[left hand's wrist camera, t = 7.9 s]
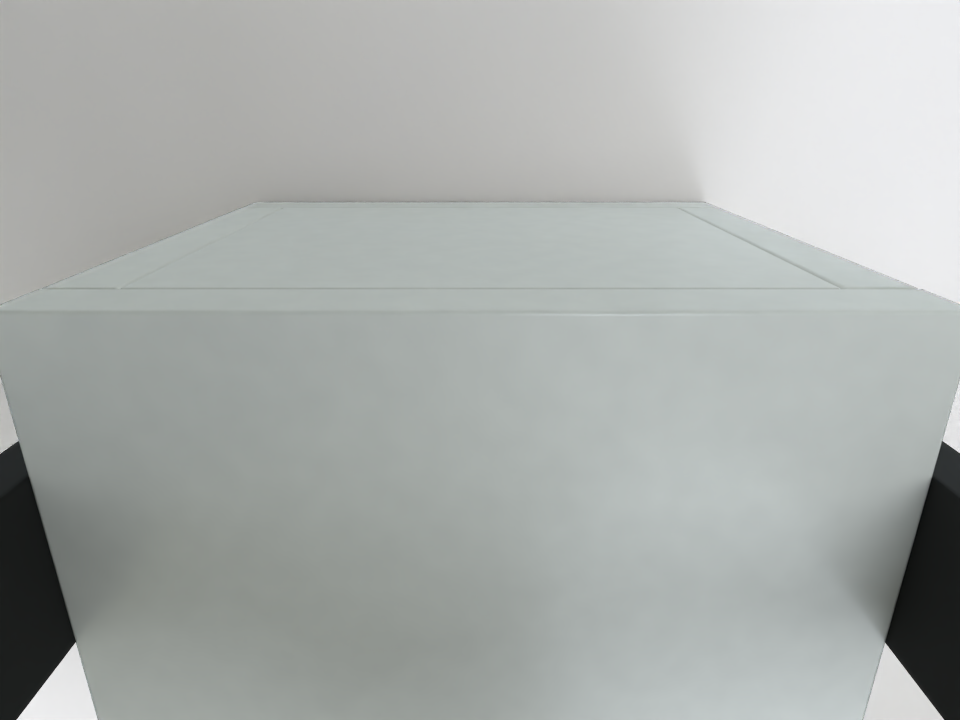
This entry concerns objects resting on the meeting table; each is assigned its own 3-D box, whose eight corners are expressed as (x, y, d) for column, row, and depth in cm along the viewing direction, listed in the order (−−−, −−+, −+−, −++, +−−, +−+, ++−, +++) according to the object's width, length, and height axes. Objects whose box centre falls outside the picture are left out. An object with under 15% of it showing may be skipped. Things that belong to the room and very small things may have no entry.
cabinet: (634, 796, 24) (726, 1204, 15) (326, 796, 24) (234, 1204, 15) (707, 201, 16) (981, 311, 7) (254, 201, 17) (-21, 310, 7)
